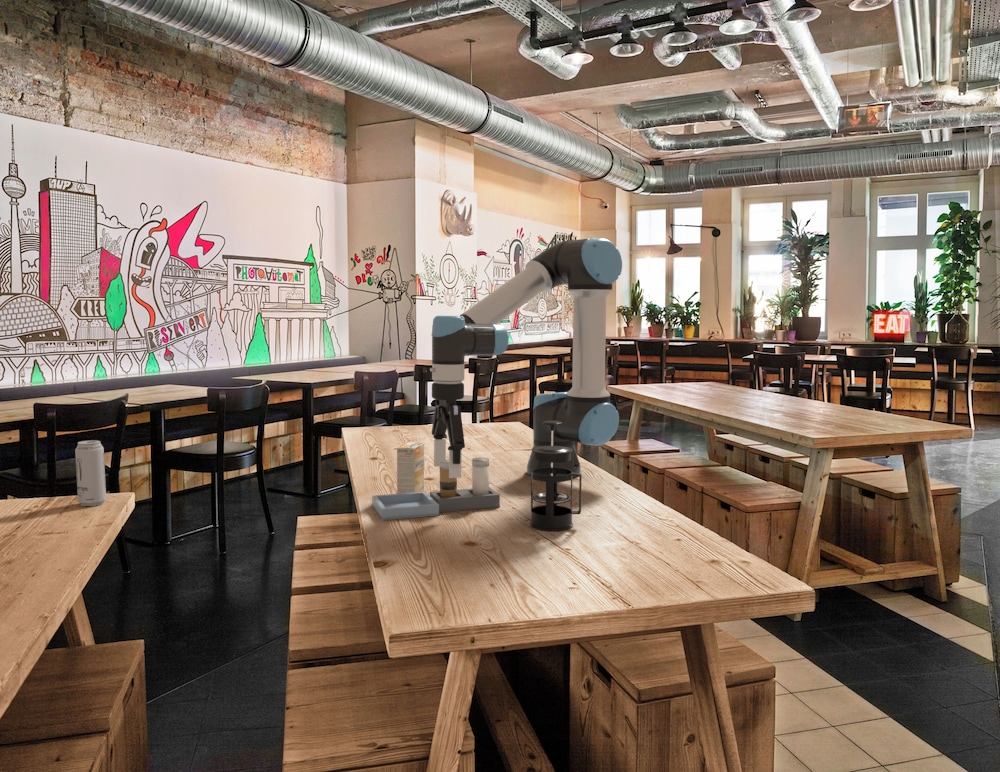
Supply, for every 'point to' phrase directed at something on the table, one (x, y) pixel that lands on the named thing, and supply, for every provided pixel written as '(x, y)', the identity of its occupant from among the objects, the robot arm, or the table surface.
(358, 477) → the table surface
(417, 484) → the supplement box
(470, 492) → the fuse block
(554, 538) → the table surface
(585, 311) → the robot arm
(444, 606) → the table surface
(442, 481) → the fuse
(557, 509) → the french press
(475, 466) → the cylinder
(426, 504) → the parts tray
